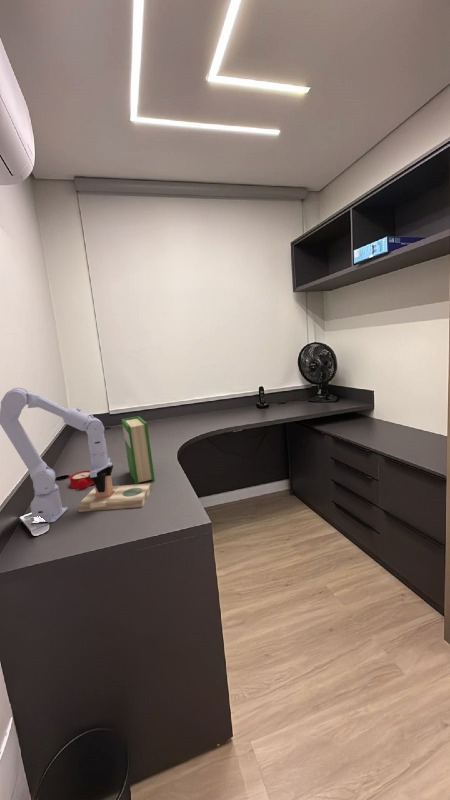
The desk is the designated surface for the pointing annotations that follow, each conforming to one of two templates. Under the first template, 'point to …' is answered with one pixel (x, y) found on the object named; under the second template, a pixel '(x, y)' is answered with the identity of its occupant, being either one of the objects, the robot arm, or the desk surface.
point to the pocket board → (117, 498)
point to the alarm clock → (80, 480)
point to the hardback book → (138, 449)
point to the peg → (106, 488)
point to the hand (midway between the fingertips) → (104, 489)
